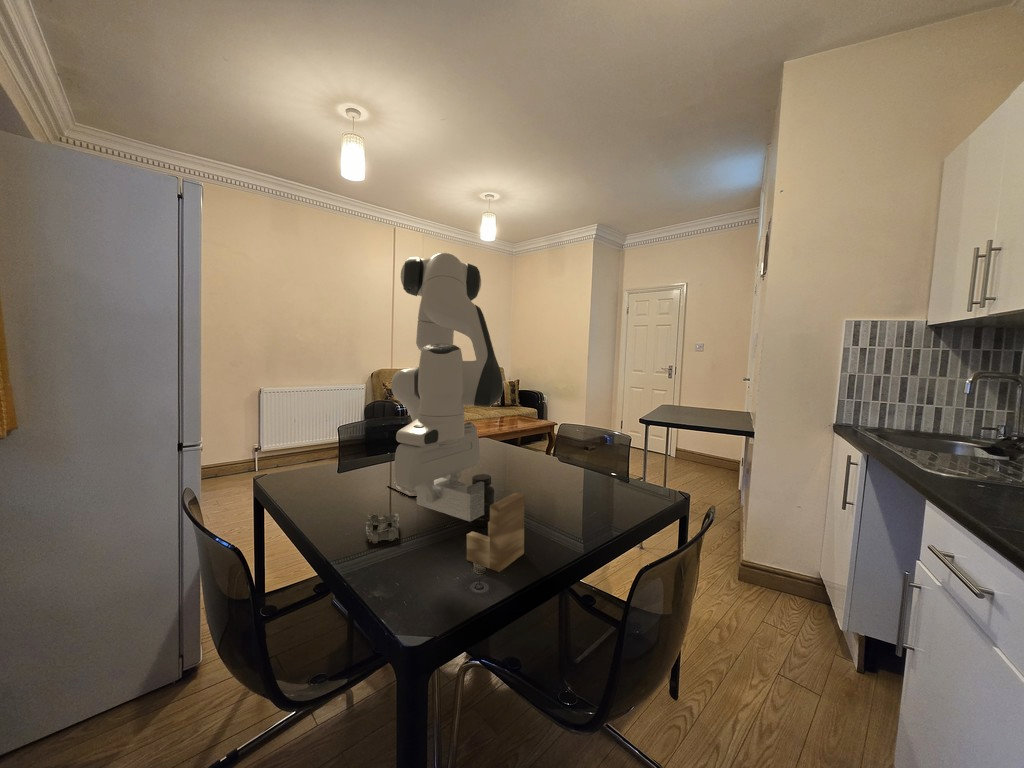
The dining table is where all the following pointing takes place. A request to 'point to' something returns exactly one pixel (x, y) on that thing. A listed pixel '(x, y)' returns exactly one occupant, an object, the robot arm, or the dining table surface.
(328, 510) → the dining table surface
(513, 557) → the wooden step block
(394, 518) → the egg carton
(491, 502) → the supplement bottle
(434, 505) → the light grey rectangular block
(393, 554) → the dining table surface
